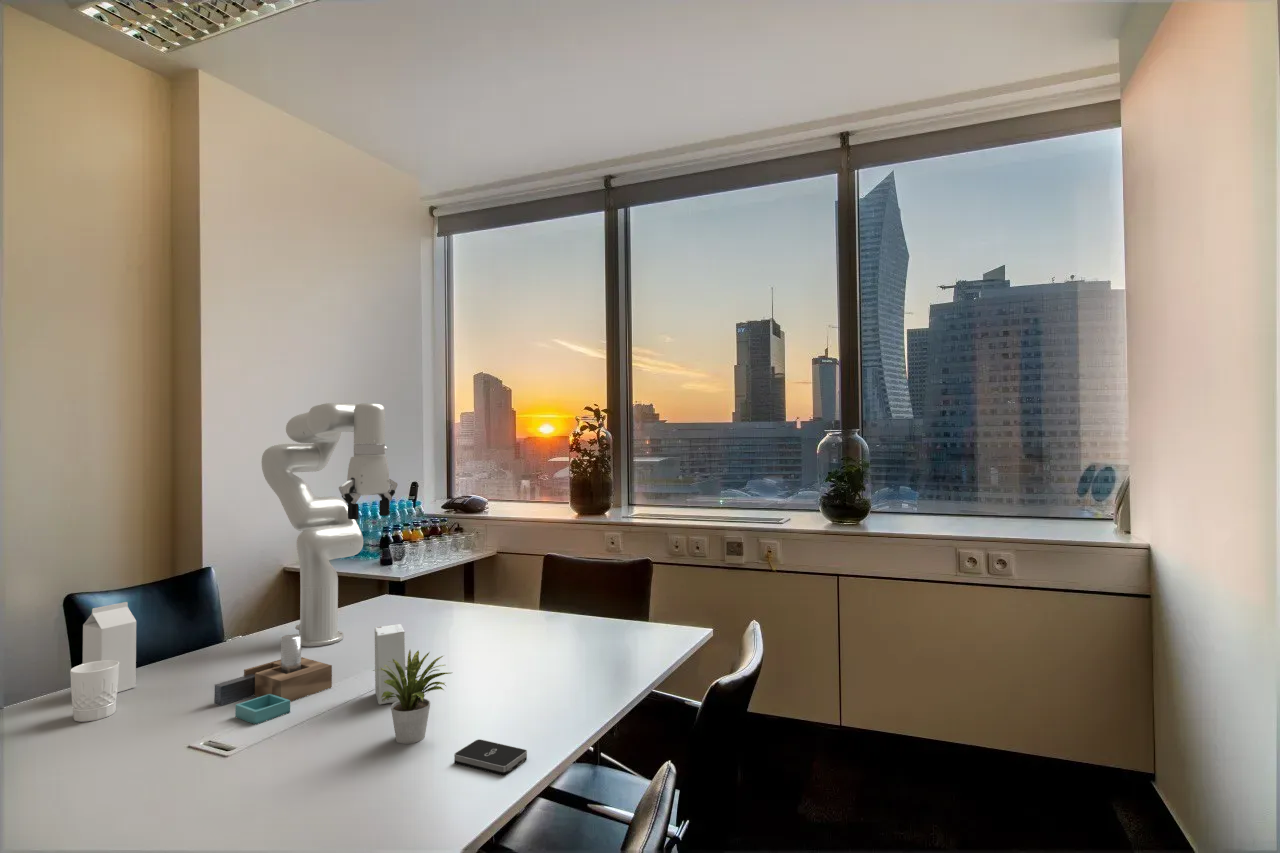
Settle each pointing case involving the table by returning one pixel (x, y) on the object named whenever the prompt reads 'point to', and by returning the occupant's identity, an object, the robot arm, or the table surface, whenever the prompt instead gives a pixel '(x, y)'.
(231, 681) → the bar
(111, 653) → the milk carton
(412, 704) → the house plant
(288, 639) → the peg
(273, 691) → the socket block
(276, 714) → the tray
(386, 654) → the skincare box
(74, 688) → the white cup
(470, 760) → the external hard drive
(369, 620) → the table surface
